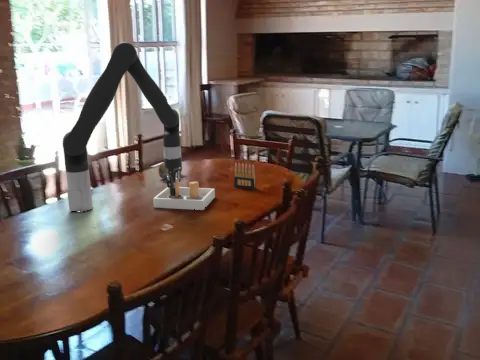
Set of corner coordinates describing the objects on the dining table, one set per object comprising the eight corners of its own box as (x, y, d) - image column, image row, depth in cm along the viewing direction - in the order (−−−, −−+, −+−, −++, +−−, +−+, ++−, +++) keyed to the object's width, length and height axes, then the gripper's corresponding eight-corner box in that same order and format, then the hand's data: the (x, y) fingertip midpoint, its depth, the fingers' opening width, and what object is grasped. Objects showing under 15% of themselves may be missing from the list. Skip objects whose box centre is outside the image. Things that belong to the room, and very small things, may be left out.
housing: (203, 210, 226) (202, 189, 224) (153, 207, 231) (152, 187, 229) (214, 197, 243) (214, 177, 241) (168, 195, 248) (167, 176, 246)
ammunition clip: (256, 188, 255) (255, 163, 252) (254, 189, 254) (254, 164, 251) (235, 185, 260) (235, 161, 257) (234, 186, 258) (233, 162, 255)
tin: (162, 180, 272) (161, 164, 270) (157, 180, 274) (156, 163, 272) (182, 174, 283) (182, 158, 281) (178, 173, 285) (177, 157, 283)
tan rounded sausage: (177, 198, 235) (176, 180, 233) (169, 198, 236) (168, 180, 234) (180, 195, 239) (179, 178, 237) (172, 195, 240) (171, 178, 238)
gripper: (170, 152, 240) (172, 189, 245) (158, 159, 227) (160, 199, 232) (186, 152, 239) (188, 190, 243) (175, 160, 225) (177, 199, 230)
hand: (174, 194), depth 237 cm, fingers closed on tan rounded sausage, 4 cm apart
